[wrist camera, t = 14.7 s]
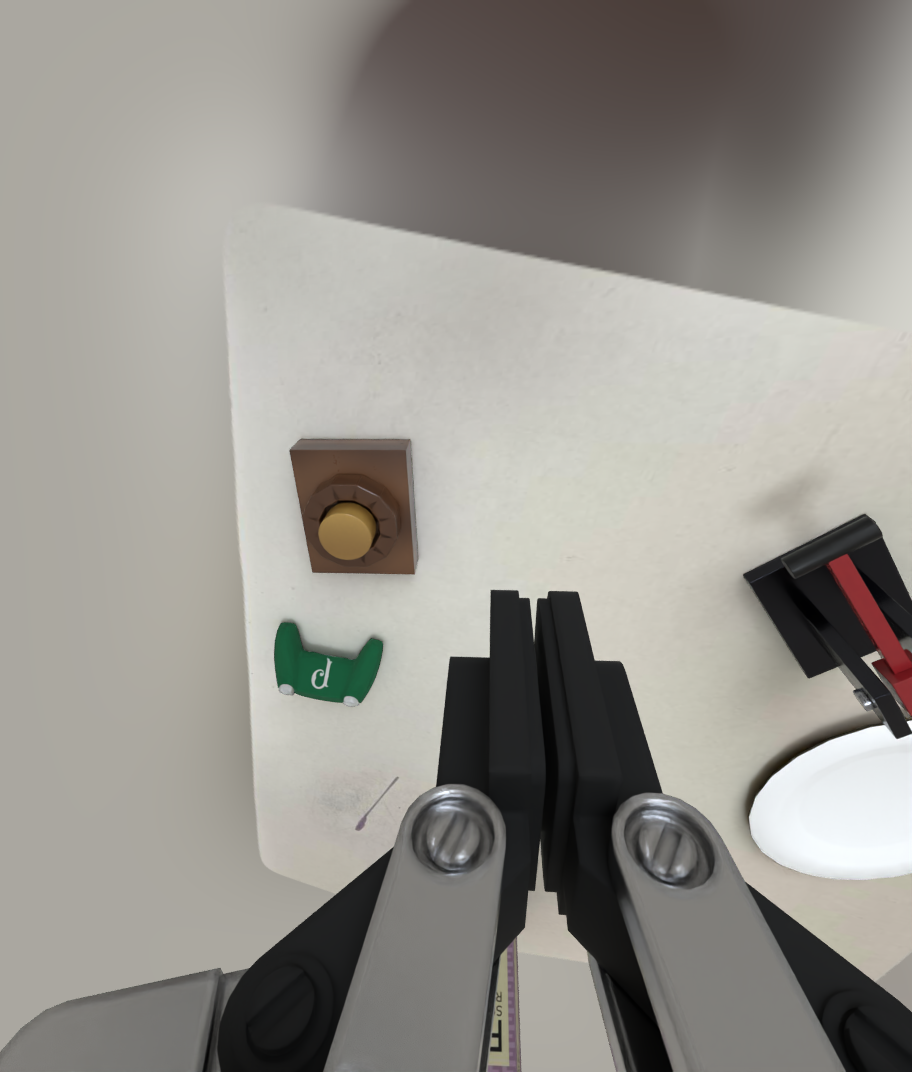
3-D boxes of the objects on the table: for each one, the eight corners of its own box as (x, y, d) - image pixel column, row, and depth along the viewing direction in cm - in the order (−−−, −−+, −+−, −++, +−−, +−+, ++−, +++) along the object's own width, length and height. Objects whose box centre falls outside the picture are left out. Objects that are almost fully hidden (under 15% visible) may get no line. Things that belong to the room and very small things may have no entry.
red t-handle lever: (774, 552, 33) (790, 567, 31) (857, 510, 31) (880, 523, 29) (867, 701, 36) (887, 726, 33) (948, 670, 34) (976, 694, 32)
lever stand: (742, 574, 41) (817, 675, 31) (864, 513, 37) (988, 604, 28) (801, 668, 45) (882, 782, 35) (915, 621, 42) (1038, 732, 32)
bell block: (299, 439, 37) (279, 459, 34) (410, 439, 37) (401, 459, 33) (320, 557, 42) (304, 586, 39) (418, 559, 42) (411, 588, 38)
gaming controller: (287, 623, 48) (270, 690, 47) (277, 619, 45) (258, 692, 43) (386, 642, 49) (371, 708, 47) (384, 640, 45) (368, 712, 43)
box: (430, 832, 60) (405, 1072, 43) (509, 832, 59) (516, 1078, 42) (446, 907, 68) (430, 1136, 51) (515, 909, 67) (523, 1142, 50)
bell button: (321, 501, 36) (314, 513, 34) (374, 502, 35) (368, 513, 34) (329, 547, 37) (322, 559, 36) (378, 547, 37) (374, 560, 36)
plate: (938, 875, 58) (950, 892, 56) (711, 853, 59) (717, 869, 57) (1086, 720, 46) (1106, 736, 44) (796, 694, 46) (806, 709, 45)
